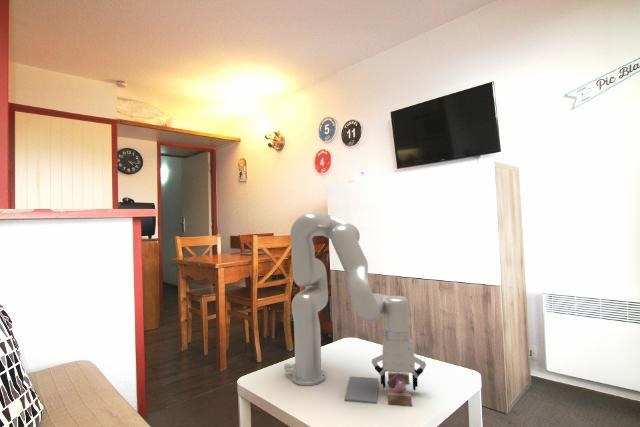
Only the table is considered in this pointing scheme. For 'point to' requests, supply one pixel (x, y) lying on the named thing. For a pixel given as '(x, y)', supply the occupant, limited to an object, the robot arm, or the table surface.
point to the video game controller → (397, 383)
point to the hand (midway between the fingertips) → (399, 387)
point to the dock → (399, 398)
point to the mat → (362, 390)
